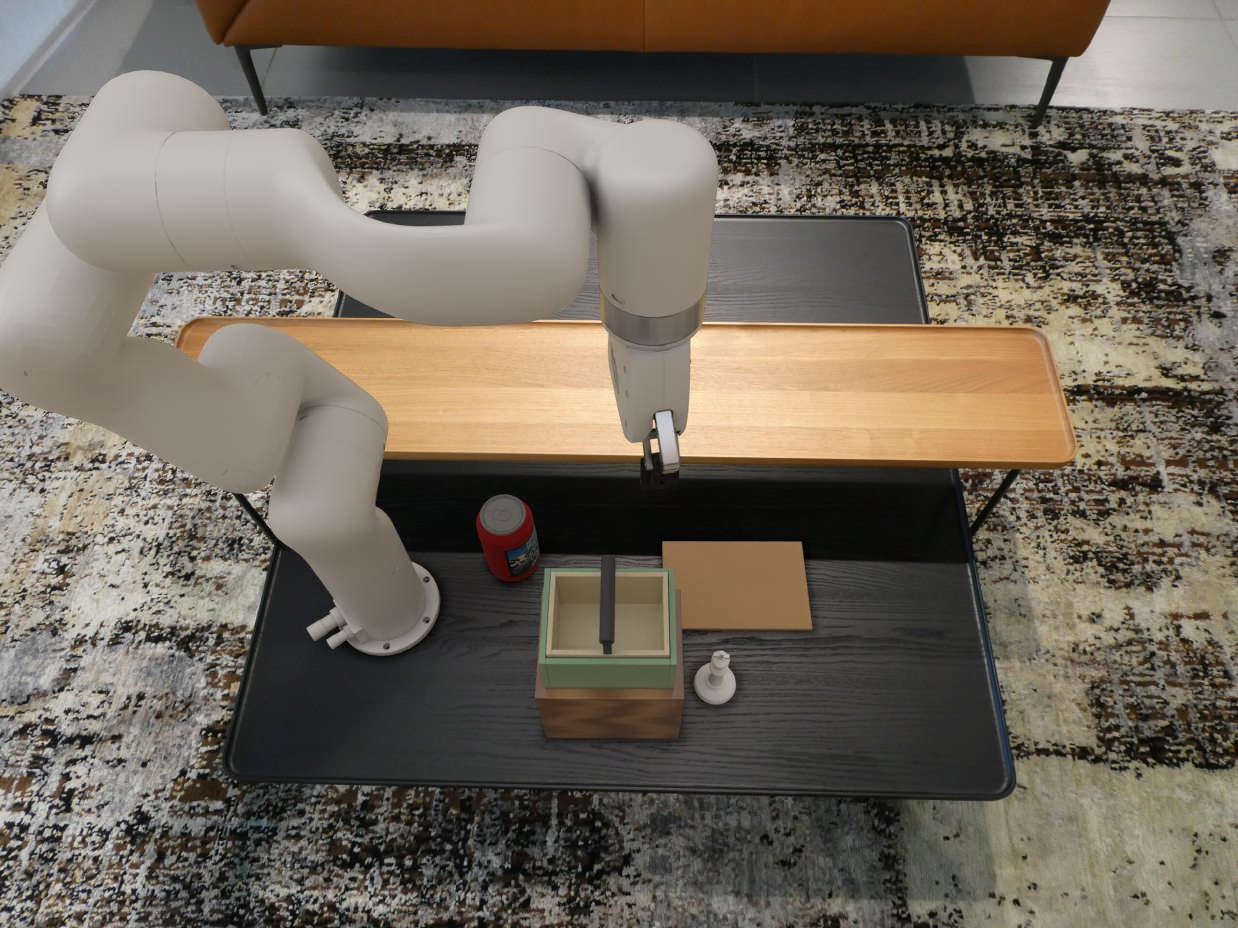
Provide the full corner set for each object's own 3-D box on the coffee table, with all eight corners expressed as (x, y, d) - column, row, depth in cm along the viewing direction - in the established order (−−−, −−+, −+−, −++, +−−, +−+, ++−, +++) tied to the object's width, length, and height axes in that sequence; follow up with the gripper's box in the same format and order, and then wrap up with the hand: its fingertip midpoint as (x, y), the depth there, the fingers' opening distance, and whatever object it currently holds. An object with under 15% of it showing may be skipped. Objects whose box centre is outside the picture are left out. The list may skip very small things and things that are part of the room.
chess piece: (696, 660, 101) (702, 628, 92) (737, 667, 100) (747, 634, 92) (691, 700, 98) (696, 670, 90) (733, 707, 97) (743, 678, 89)
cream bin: (551, 679, 85) (542, 639, 76) (556, 600, 89) (547, 554, 80) (667, 680, 84) (671, 639, 76) (665, 601, 89) (668, 554, 80)
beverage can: (533, 588, 106) (523, 543, 96) (481, 579, 107) (466, 533, 97) (546, 542, 110) (537, 494, 100) (496, 533, 111) (483, 485, 101)
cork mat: (664, 630, 103) (664, 628, 102) (662, 543, 110) (662, 541, 109) (811, 630, 103) (812, 628, 102) (800, 543, 109) (801, 541, 109)
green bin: (545, 688, 85) (538, 663, 79) (550, 597, 90) (544, 567, 84) (674, 689, 85) (677, 664, 79) (671, 597, 90) (674, 568, 84)
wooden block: (546, 737, 96) (534, 698, 84) (552, 638, 103) (541, 588, 91) (678, 738, 96) (684, 699, 84) (675, 638, 102) (680, 589, 91)
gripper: (582, 222, 64) (591, 369, 78) (620, 400, 54) (622, 530, 68) (679, 211, 64) (670, 358, 79) (734, 384, 55) (712, 516, 69)
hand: (648, 438), depth 74 cm, fingers open, 9 cm apart
